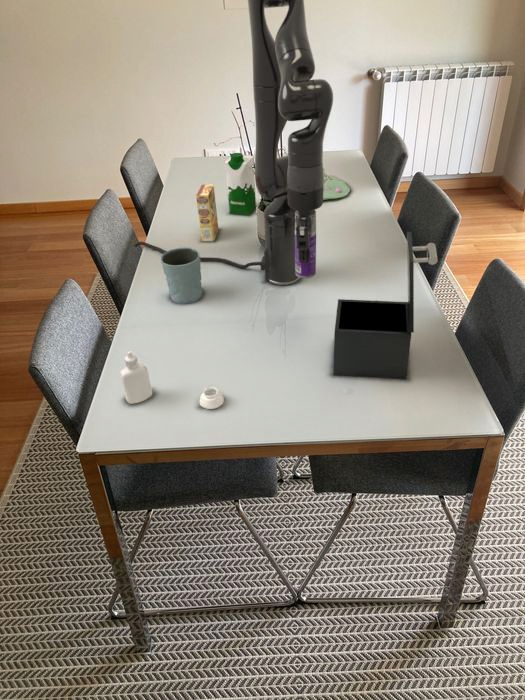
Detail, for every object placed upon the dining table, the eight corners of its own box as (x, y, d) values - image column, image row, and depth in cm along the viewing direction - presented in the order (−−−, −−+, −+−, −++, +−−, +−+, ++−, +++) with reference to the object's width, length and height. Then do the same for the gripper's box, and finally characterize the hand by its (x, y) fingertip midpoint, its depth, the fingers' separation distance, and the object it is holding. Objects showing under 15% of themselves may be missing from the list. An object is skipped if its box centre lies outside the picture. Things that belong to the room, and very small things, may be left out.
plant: (290, 178, 229) (289, 155, 223) (344, 175, 228) (345, 152, 223) (294, 204, 208) (294, 179, 203) (354, 201, 208) (355, 176, 203)
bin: (333, 375, 132) (334, 330, 125) (336, 341, 142) (338, 299, 135) (406, 379, 129) (411, 334, 122) (404, 345, 139) (409, 302, 132)
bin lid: (409, 260, 113) (439, 259, 111) (407, 231, 123) (434, 230, 121) (409, 332, 122) (437, 332, 121) (407, 300, 132) (433, 299, 131)
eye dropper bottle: (127, 391, 131) (117, 347, 123) (153, 389, 131) (144, 345, 123) (125, 404, 127) (113, 359, 120) (151, 403, 127) (141, 358, 120)
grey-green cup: (211, 290, 164) (206, 250, 157) (192, 308, 157) (187, 268, 150) (179, 283, 168) (173, 244, 161) (160, 301, 160) (152, 261, 153)
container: (314, 279, 135) (314, 217, 126) (293, 277, 136) (292, 216, 127) (317, 268, 139) (317, 208, 130) (297, 267, 140) (296, 207, 131)
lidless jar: (228, 402, 126) (214, 391, 129) (227, 391, 124) (212, 380, 127) (209, 413, 123) (195, 402, 127) (208, 402, 122) (193, 391, 125)
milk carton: (226, 214, 204) (221, 156, 193) (236, 204, 211) (231, 147, 199) (250, 217, 202) (246, 158, 190) (259, 206, 209) (256, 148, 197)
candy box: (214, 241, 188) (209, 195, 179) (201, 241, 188) (195, 195, 179) (219, 229, 195) (214, 184, 186) (206, 229, 196) (201, 184, 187)
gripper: (291, 170, 131) (292, 241, 141) (282, 196, 120) (284, 271, 130) (326, 171, 130) (324, 242, 140) (320, 197, 119) (319, 273, 129)
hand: (305, 256), depth 135 cm, fingers closed on container, 4 cm apart
